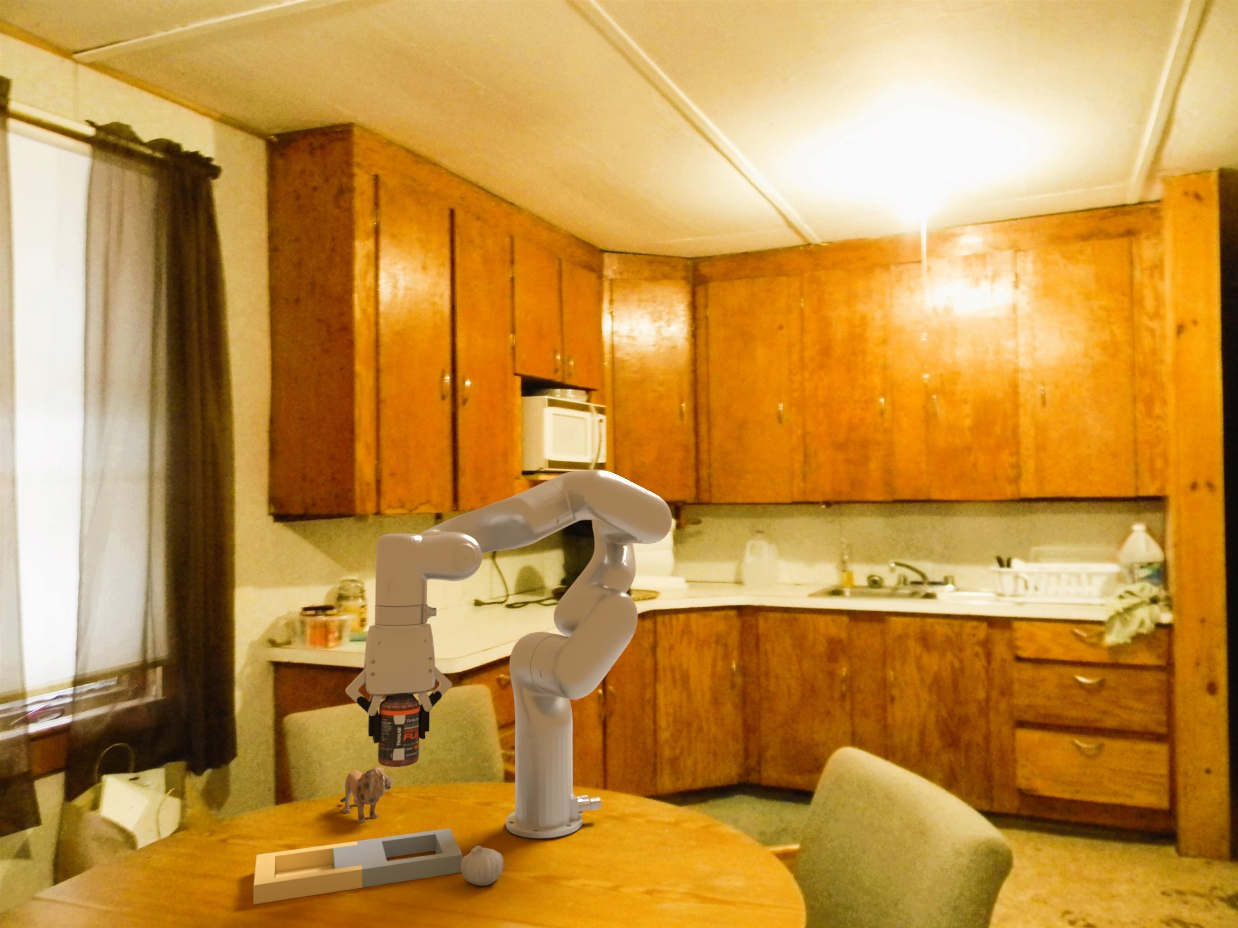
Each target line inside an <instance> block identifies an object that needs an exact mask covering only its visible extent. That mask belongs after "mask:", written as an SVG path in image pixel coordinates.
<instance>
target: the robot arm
mask: <svg viewBox="0 0 1238 928" xmlns="http://www.w3.org/2000/svg"><path fill="white" fill-rule="evenodd" d="M587 520H588V521H591V524H592V531H593V536H594V551H593V555H592V557H591V559H590V561H589V562H588V564H587V565H586V566H585V568H584V569H583V571H582V572H581V573H580V575H579V576H577V578H576V579H575V580H574V582H573V583H572V584H571V586H570V587H569V588H568V589H567V590H566V592H564V594H563V595H562V596H561V598H560V599H559V601H558V603H557V605H556V606H555V608H554V611H553V622H554V623H553V624H554V626H555V627H556V629H557V630H558V631H559V632H560V634H556V633H551V632H546V631H535V632H530V633H527V634H525V635H523V636H522V637H520V639H518V641H517V642H515V645H514V646H513V648H512V649H511V653H510V655H509V656H510V658H509V676H510V680H511V681H510V682H511V686H512V691H513V700H514V715H515V716H514V717H515V719H514V720H515V721H514V722H515V726H514V727H515V728H514V729H515V731H514V747H515V748H514V750H515V751H514V759H515V760H514V761H515V762H514V765H515V766H514V767H515V768H514V769H515V773H514V774H515V777H514V778H515V782H514V783H515V786H514V787H515V788H514V789H515V790H514V792H515V794H514V795H515V796H514V797H515V798H514V800H515V801H514V802H515V803H514V804H515V806H514V807H515V811H513V812H511V813H510V814H508V816H507V817H506V819H505V828H506V829H507V831H508V832H510V833H511V834H513V835H516V836H519V837H523V838H527V839H529V838H530V839H551V838H552V839H553V838H558V837H559V838H560V837H563V836H567V835H570V834H572V833H574V832H577V831H578V830H579V829H580V828H581V827H582V825H583V815H582V814H583V813H584V811H594V810H600V809H601V808H602V799H601V797H600V796H595V797H589V795H588V794H586V795H580V796H576V794H575V793H574V788H573V787H574V784H573V782H574V781H573V780H574V779H573V774H574V773H573V771H574V769H573V764H574V763H573V760H574V759H573V729H574V728H573V727H574V725H573V711H572V704H571V701H570V700H579V699H582V698H585V697H586V696H588V695H590V694H591V693H592V692H593V691H594V690H595V689H596V688H597V687H598V686H599V685H600V683H601V682H603V680H604V678H605V677H606V675H608V673H609V671H611V669H612V667H613V666H614V665H615V663H616V662H617V660H618V659H619V657H620V656H621V655H622V654H623V652H624V651H625V649H627V647H628V645H629V644H630V642H631V640H632V638H633V637H634V635H635V633H636V630H637V627H638V621H639V620H638V619H639V618H638V615H639V614H638V613H639V612H638V609H637V608H638V607H637V604H636V602H635V601H634V599H633V598H632V597H631V595H630V594H629V593H628V591H629V589H630V588H631V586H632V584H633V582H634V580H635V578H636V572H637V568H636V566H637V565H636V558H635V557H636V556H635V555H636V554H635V549H634V544H644V545H650V544H651V545H652V544H656V543H659V542H661V541H662V540H663V539H665V537H667V535H668V534H669V533H670V531H671V528H672V523H673V516H672V512H671V509H670V507H669V505H668V503H666V501H665V500H664V499H663V498H661V497H660V496H659V495H657V494H656V493H654V492H652V491H649V490H647V489H645V488H644V487H641V486H639V485H637V484H636V483H633V482H631V481H630V480H628V479H625V478H624V477H622V476H619V475H618V474H615V473H613V472H610V471H607V470H603V469H588V470H575V471H569V472H565V473H562V474H560V475H556V476H555V477H553V478H551V479H548V480H546V481H544V482H542V483H539V484H537V485H536V486H533V487H531V488H528V489H526V490H524V491H522V492H520V493H518V494H515V495H512V496H510V497H508V498H505V499H501V500H499V501H496V502H493V503H490V504H488V505H486V506H483V507H481V508H476V509H474V510H471V511H468V512H466V513H462V514H459V515H457V516H455V517H452V518H449V519H447V520H445V521H443V522H441V523H438V524H437V525H434V526H431V527H429V528H427V529H426V530H423V531H422V532H420V533H419V534H418V533H388V534H383V535H381V536H379V537H378V539H377V541H376V545H375V547H376V548H375V549H376V550H375V593H374V594H375V597H374V600H375V602H374V603H375V604H374V624H373V625H369V627H368V631H367V634H366V635H367V636H366V642H365V651H364V661H363V664H364V665H363V670H362V671H361V672H360V673H359V674H358V675H357V676H356V677H355V678H354V679H353V680H352V682H351V683H349V684H348V685H347V687H346V688H345V693H346V695H347V696H348V697H350V698H351V699H352V701H354V702H355V703H357V705H358V706H359V707H360V708H361V709H362V710H364V712H366V713H367V714H368V727H367V731H368V732H367V733H368V736H367V737H372V740H373V741H372V742H373V743H374V744H378V742H379V741H380V715H379V710H378V709H379V705H380V703H381V702H382V701H383V700H382V699H383V697H384V696H385V697H386V696H387V695H395V694H399V693H408V694H413V695H414V694H415V695H416V694H417V697H418V701H419V703H420V720H419V721H420V726H419V739H421V740H425V739H426V733H427V732H428V733H429V732H430V718H431V717H430V714H431V713H430V711H432V709H433V707H434V706H435V705H436V704H437V703H438V702H439V701H440V700H441V699H442V697H444V695H446V693H447V692H449V690H450V689H451V688H452V686H453V683H452V681H451V680H449V678H448V677H446V675H444V674H443V673H442V671H440V669H439V668H437V667H436V659H435V656H436V655H435V644H434V643H435V642H434V637H433V632H432V631H433V630H432V626H431V623H428V620H429V619H430V618H432V617H436V616H437V607H432V606H429V604H428V581H429V580H435V581H436V580H437V581H439V580H440V581H446V582H447V581H448V582H459V581H461V582H462V581H464V580H467V579H469V578H471V577H473V575H475V574H476V573H477V572H478V571H479V569H480V567H481V565H482V562H483V554H487V553H492V552H496V551H503V550H504V551H505V550H512V549H513V550H514V549H518V548H519V549H520V548H523V547H526V546H527V547H528V546H529V545H532V544H535V543H537V542H539V541H541V540H542V539H544V538H547V537H548V536H551V535H553V534H555V533H557V532H558V531H560V530H562V529H564V528H566V527H568V526H570V525H573V524H575V523H578V522H579V521H587ZM436 681H437V682H438V683H439V685H438V686H437V687H436V688H435V686H436ZM362 686H363V688H364V689H365V690H366V693H367V694H368V695H370V697H369V699H367V698H366V697H365V696H364V695H363V694H362V693H360V691H359V689H360V688H361V687H362ZM434 688H435V689H434ZM433 689H434V690H433ZM432 690H433V691H432ZM430 691H432V692H431V693H430V694H429V695H428V692H430Z"/></svg>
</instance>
